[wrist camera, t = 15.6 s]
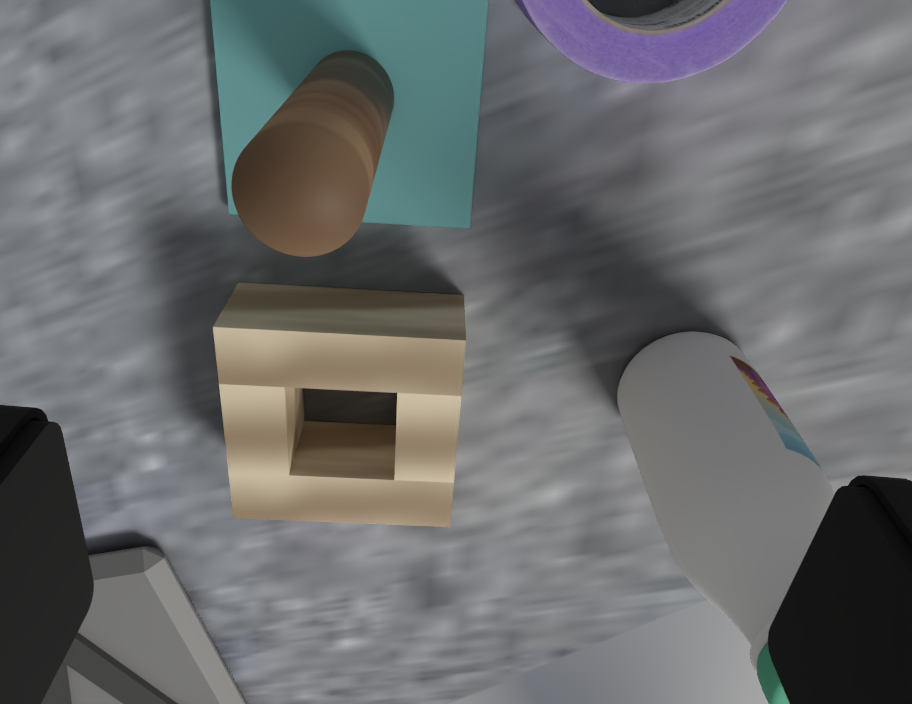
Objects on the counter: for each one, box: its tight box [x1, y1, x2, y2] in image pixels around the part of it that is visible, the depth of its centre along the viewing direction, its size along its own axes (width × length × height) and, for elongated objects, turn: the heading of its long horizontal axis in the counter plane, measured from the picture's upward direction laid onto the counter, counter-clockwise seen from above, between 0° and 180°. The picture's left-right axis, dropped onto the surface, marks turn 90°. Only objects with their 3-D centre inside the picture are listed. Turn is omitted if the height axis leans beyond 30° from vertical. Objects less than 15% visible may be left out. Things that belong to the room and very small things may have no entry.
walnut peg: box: [231, 50, 394, 257], centre depth 28 cm, size 4×4×14 cm
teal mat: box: [210, 0, 488, 229], centre depth 35 cm, size 12×12×1 cm
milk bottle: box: [617, 331, 835, 704], centre depth 35 cm, size 8×8×20 cm
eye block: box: [213, 282, 466, 527], centre depth 41 cm, size 12×12×5 cm
